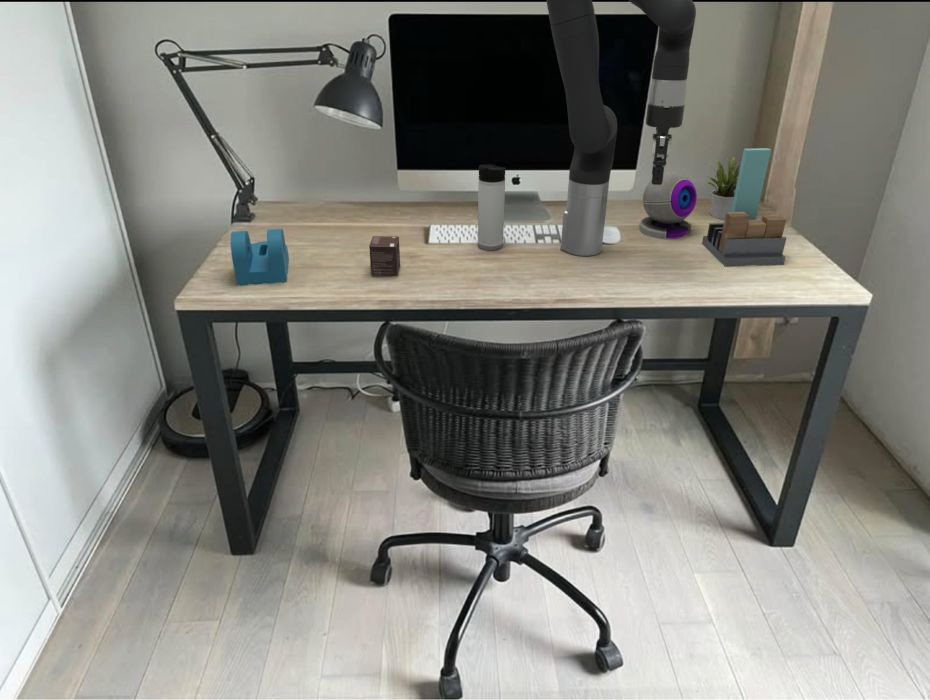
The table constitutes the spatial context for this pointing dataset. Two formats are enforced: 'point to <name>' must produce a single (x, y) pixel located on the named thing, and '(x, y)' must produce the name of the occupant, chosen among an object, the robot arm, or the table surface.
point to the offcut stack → (751, 227)
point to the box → (384, 256)
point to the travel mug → (491, 206)
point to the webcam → (668, 206)
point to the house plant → (723, 189)
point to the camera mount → (259, 258)
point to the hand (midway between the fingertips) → (656, 179)
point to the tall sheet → (751, 181)
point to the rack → (744, 248)
